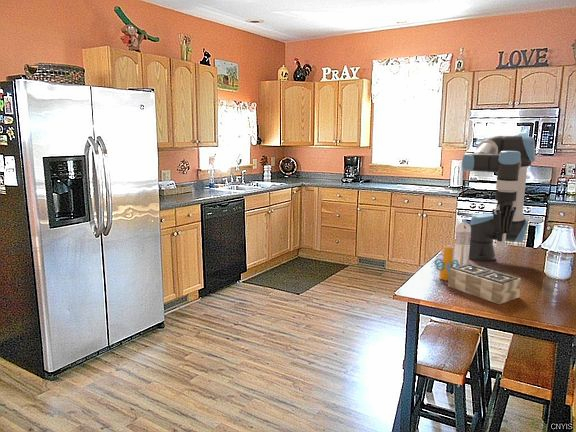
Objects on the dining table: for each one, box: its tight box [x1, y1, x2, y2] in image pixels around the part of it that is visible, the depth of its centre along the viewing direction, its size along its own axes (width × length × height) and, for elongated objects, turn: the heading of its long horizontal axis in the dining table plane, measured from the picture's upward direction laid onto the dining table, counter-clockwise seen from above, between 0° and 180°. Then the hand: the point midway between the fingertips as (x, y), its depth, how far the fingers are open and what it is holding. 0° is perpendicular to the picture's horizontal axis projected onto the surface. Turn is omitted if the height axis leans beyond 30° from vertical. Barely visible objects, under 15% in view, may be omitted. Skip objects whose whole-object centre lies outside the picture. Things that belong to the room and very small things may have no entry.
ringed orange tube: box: [434, 245, 460, 281], centre depth 206 cm, size 12×10×15 cm
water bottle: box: [453, 218, 472, 267], centre depth 218 cm, size 7×7×25 cm
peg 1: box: [466, 267, 477, 272], centre depth 195 cm, size 4×4×8 cm
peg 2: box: [492, 274, 503, 280], centre depth 185 cm, size 4×4×8 cm
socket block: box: [447, 263, 522, 305], centre depth 190 cm, size 14×24×8 cm, turn 33°
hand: (500, 248), depth 183 cm, fingers closed
